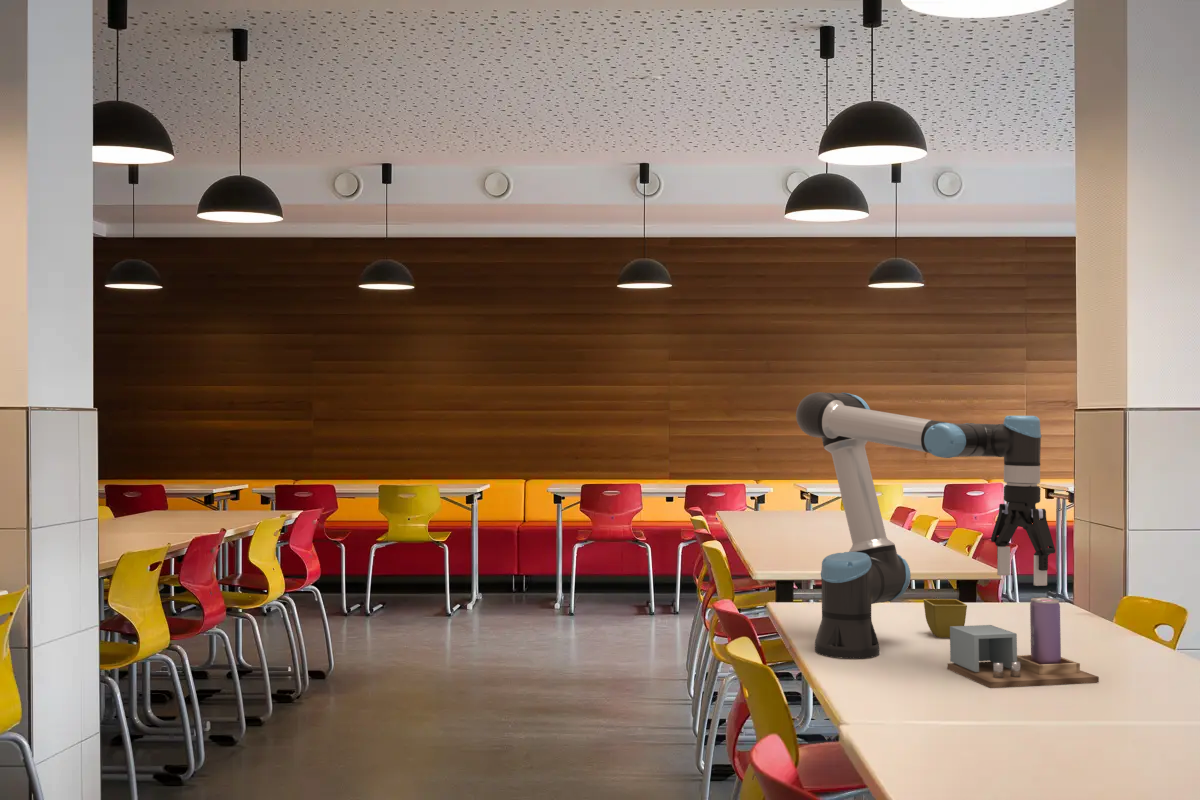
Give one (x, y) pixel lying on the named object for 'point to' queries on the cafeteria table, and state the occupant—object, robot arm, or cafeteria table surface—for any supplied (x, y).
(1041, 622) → the beverage can
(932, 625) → the flower pot
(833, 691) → the cafeteria table surface
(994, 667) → the stubs
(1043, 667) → the base board
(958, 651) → the housing
